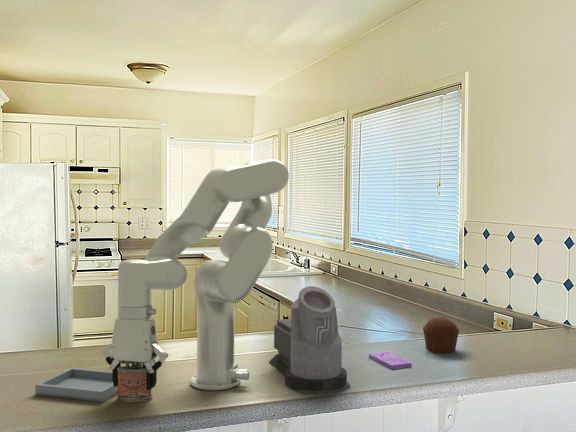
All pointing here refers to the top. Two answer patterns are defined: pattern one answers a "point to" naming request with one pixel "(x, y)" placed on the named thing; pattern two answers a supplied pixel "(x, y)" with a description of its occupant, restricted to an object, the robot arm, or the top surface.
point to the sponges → (390, 360)
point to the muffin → (440, 335)
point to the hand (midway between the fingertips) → (134, 386)
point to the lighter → (132, 382)
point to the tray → (79, 385)
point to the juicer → (311, 345)
